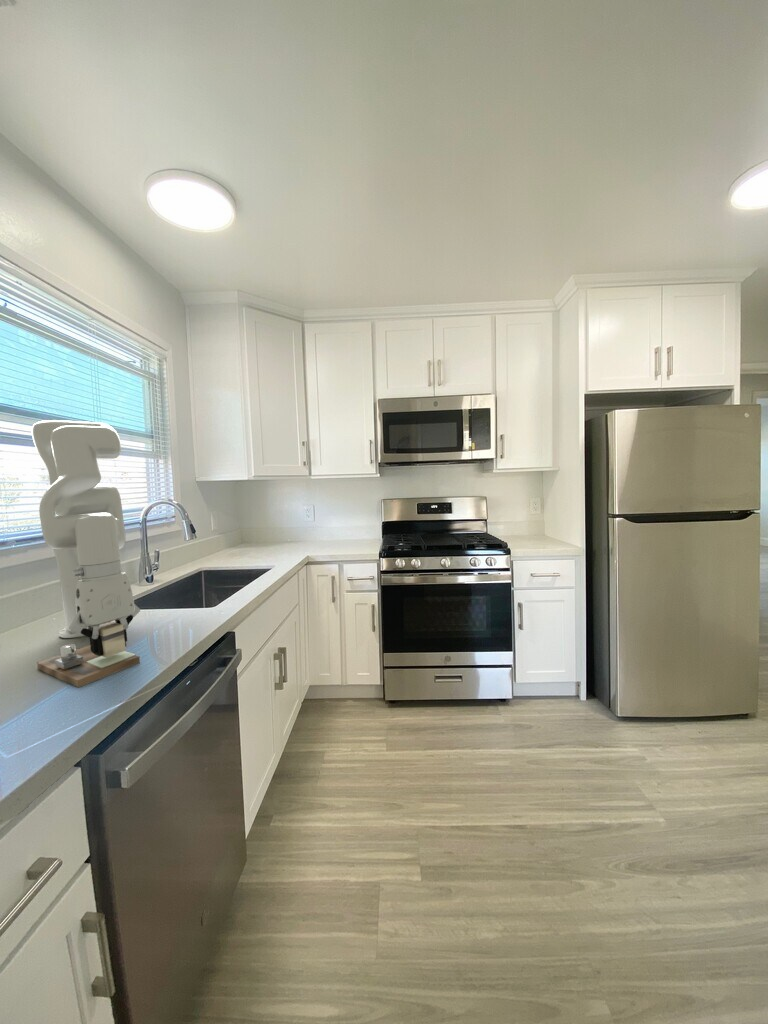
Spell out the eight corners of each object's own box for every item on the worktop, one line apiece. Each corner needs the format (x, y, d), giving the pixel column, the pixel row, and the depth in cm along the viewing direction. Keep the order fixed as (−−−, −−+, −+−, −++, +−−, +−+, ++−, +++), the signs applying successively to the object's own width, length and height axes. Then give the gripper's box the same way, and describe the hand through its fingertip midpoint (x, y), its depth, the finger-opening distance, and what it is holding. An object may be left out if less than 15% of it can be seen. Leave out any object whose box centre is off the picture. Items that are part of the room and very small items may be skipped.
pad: (86, 662, 89) (86, 661, 89) (120, 650, 95) (119, 649, 95) (101, 668, 85) (101, 667, 85) (135, 655, 91) (135, 654, 91)
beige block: (94, 653, 89) (91, 627, 89) (114, 646, 93) (111, 621, 92) (106, 657, 87) (103, 630, 86) (126, 650, 90) (123, 624, 90)
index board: (37, 669, 90) (36, 662, 90) (97, 648, 101) (96, 642, 101) (78, 687, 80) (77, 680, 80) (139, 662, 90) (139, 655, 90)
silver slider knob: (56, 666, 87) (53, 647, 86) (75, 659, 90) (73, 641, 89) (64, 669, 85) (61, 651, 84) (83, 662, 88) (81, 644, 87)
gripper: (63, 580, 79) (74, 669, 81) (148, 563, 94) (156, 639, 95) (47, 578, 83) (58, 662, 85) (131, 562, 97) (139, 634, 99)
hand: (110, 649), depth 90 cm, fingers closed on beige block, 4 cm apart
